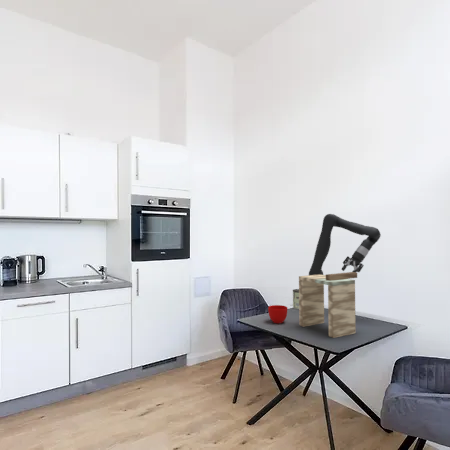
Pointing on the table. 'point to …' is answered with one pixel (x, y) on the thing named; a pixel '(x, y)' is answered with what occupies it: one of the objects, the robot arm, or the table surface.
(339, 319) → the bench
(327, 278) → the batten
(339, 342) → the table surface
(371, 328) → the table surface
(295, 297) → the coffee can
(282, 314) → the ceramic cup
